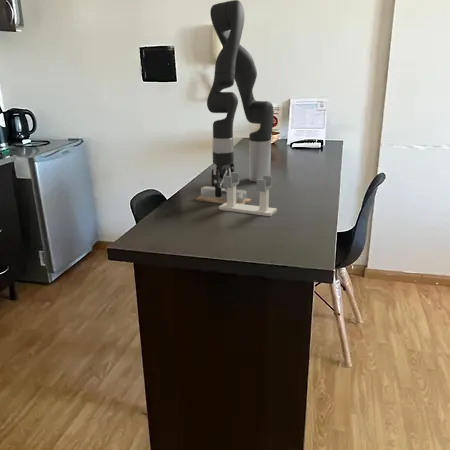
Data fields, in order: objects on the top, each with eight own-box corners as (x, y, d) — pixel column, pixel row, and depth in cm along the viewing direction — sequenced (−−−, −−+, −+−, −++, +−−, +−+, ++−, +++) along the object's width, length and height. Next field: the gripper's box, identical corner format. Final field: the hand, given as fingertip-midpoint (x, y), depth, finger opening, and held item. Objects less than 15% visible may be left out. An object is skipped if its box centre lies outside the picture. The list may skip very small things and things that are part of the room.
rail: (205, 195, 172) (205, 186, 171) (246, 199, 165) (246, 190, 164) (200, 197, 169) (200, 188, 168) (242, 202, 162) (242, 192, 161)
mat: (206, 194, 175) (205, 193, 174) (251, 200, 167) (251, 198, 167) (195, 200, 168) (195, 198, 168) (242, 206, 160) (242, 204, 160)
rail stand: (226, 204, 162) (226, 171, 158) (277, 211, 154) (278, 176, 150) (218, 209, 156) (217, 175, 152) (270, 216, 148) (271, 180, 144)
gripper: (222, 146, 169) (222, 188, 174) (204, 152, 157) (205, 197, 162) (240, 147, 166) (240, 190, 171) (223, 154, 154) (224, 200, 159)
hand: (223, 194), depth 167 cm, fingers open, 8 cm apart
